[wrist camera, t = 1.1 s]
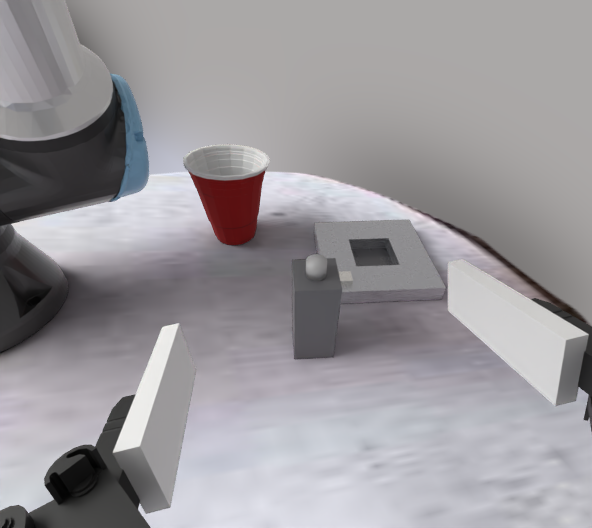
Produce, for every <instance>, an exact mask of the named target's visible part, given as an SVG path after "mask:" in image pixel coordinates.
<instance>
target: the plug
mask: <svg viewBox="0 0 592 528" xmlns="http://www.w3.org/2000/svg"><path fill="white" fill-rule="evenodd" d="M341 296H342V285H341V281H340V277H339V272H338V268H337V263H336V259H335V258H326V257H324V256H323V255H320V254H313V255H310V256H308V257H307V259H298V260H292V330H293V345H294V359H308V358H328V357H333V356H334V348H335V341H336V333H337V326H338V318H339V311H340V303H341Z"/></svg>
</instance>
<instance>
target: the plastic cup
mask: <svg viewBox="0 0 592 528" xmlns="http://www.w3.org/2000/svg"><path fill="white" fill-rule="evenodd" d="M183 161H184V166H185V168H186V169H187V170H188V171H189V174H190V175H191V178H192V180H193V182H194V185H195V187H196V188H197V191H198V193H199V196H200V199H201V201H202V204H203V206H204V209H205V211H206V214H207V217H208V219H209V221H210V222H211V225H212V228H213V230H214V233H215V235H216V236H217V238H218V239H219V240H220V241H221V242H222V243H225V244H227V245H239V244H244V243H246V242H248V241H250V240H251V239H252V238H253V237H254V235H255V231H256V226H257V216H258V213H259V205H260V196H261V188H262V182H263V178H264V174H265V170H266V169H267V167H268V165H269V162H270V159H269V157H268V156H267V154H265V153H264V152H262V151H260V150H258V149H255V148H251V147H248V146H241V145H231V144H229V145H212V146H208V147H202V148H199V149H196V150H194V151H191V152H189V153H188V154H187V155H186V156H185V157H184V158H183Z"/></svg>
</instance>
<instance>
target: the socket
mask: <svg viewBox="0 0 592 528" xmlns="http://www.w3.org/2000/svg"><path fill="white" fill-rule="evenodd" d="M314 237H315V243H316V249H317V254H320V255H323V256H324V257H326V258H335V259H336V263H337V268H338V272H339V277H340V281H341V285H342V296H341V303H340V304H346V303H369V302H392V301H415V300H438V299H442V297H443V294H444V292H445V289H446V286H445V285H444V283H443V281H442V279H441V277H440V275H439V273H438V272H437V270H436V268H435V266H434V264H433V262H432V261H431V259H430V257H429V255H428V253H427V251H426V249H425V248H424V246H423V244H422V242H421V240H420V238H419V237H418V235H417V233H416V231H415V229H414V227H413V226H412V224H411V222H410V220H381V221H350V222H319V223H314Z"/></svg>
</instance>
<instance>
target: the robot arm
mask: <svg viewBox="0 0 592 528" xmlns="http://www.w3.org/2000/svg"><path fill="white" fill-rule="evenodd" d="M148 177H149V161H148V152H147V146H146V141H145V139H144V137H143V128H142V122H141V119H140V115H139V111H138V108H137V105H136V102H135V99H134V97H133V94H132V92H131V90H130V87H129V85H128V84H127V82H126V81H125V79H124V78H122V77H121V76H119V75H115V74H110V73H109V71H108V69H107V67H106V66H105V64H104V63H103V61H102V60H101V59H100V58H99V57H98V56H97V55H96V54H95V53H93V52H92V51H91V50H89V49H88V48H86V47H85V46H83V45H81V44H80V43H79V40H78V37H77V34H76V31H75V28H74V25H73V23H72V19H71V16H70V14H69V10H68V8H67V5H66V2H65V0H0V352H2V351H4V350H6V349H9V348H11V347H13V346H15V345H16V344H18V343H20V342H22V341H23V340H25V339H27V338H28V337H30V336H31V335H33V334H34V333H35V332H37V331H38V330H39V329H41V328H42V327H43V326H44V325H45V324H46V323H48V322H49V321H50V320H51V319H52V318H53V316H54V315H55V314H56V313H57V312H58V310H59V309H60V308H61V306H62V305H63V303H64V301H65V299H66V296H67V293H68V281H67V279H66V277H65V275H64V274H63V272H62V270H61V269H60V267H59V266H58V264H57V263H56V262H55V261H54V260H53V259H52V258H50V257H49V256H48V255H46V254H45V253H44V252H42V251H41V250H40V249H38V248H37V247H36V246H34V245H33V244H32V243H30V242H29V241H28V240H26V239H25V238H24V237H22V236H21V235H20V234H18V233H17V232H16V231H15V229H14V228H13V226H12V225H11V224H12V223H16V222H20V221H24V220H28V219H33V218H37V217H42V216H46V215H51V214H55V213H60V212H64V211H69V210H73V209H78V208H82V207H87V206H91V205H96V204H100V203H105V202H113V201H116V200H118V199H119V198H120V197H124V196H127V195H131V194H134V193H137V192H139V191H141V190H142V189H143V188H144V187H145V186H146V184H147V181H148ZM448 311H449V312H450V313H451V314H452V315H453V316H455V317H456V318H457V319H458V320H459V321H460V322H461V323H462V324H463V325H465V326H466V327H467V328H468V329H469V330H470V331H471V332H472V333H474V334H475V335H476V336H477V337H478V338H479V339H480V340H481V341H483V342H484V343H485V344H486V345H487V346H488V347H489V348H490V349H492V350H493V351H494V352H495V353H496V354H497V355H498V356H499V357H500V358H502V359H503V360H504V361H505V362H506V363H507V364H508V365H509V366H511V367H512V368H513V369H514V370H515V371H516V372H517V373H518V374H520V375H521V376H522V377H523V378H524V379H525V380H526V381H527V382H529V383H530V384H531V385H532V386H533V387H534V388H535V389H536V390H537V391H539V392H540V393H541V394H542V395H543V396H544V397H545V398H546V399H548V400H549V401H550V402H551V403H552V404H553V405H554V406H558V405H562V404H566V403H570V402H574V401H576V398H577V392H578V387H580V388H581V389H582V390H584V391H585V392H586V393H588V394H589V397H588V402H587V406H586V411H585V416H584V420H586V421H588V419H589V418H590V424H591V430H592V327H591V326H589V325H588V324H586V323H584V322H582V321H581V320H579V319H577V318H575V317H572V315H570V314H568V313H567V312H565V311H562V310H561V309H560V308H558V307H556V306H554V305H553V304H551V303H548V302H545V301H542V300H539V299H536V298H534V299H529V298H527V297H525V296H524V295H522V294H520V293H519V292H517V291H515V290H514V289H512V288H510V287H509V286H507V285H505V284H504V283H502V282H500V281H499V280H497V279H495V278H494V277H492V276H490V275H489V274H487V273H485V272H484V271H482V270H480V269H479V268H477V267H475V266H474V265H472V264H470V263H469V262H467V261H465V260H464V259H460V260H456V261H451V262H448ZM195 373H196V368H195V365H194V363H193V360H192V357H191V354H190V352H189V349H188V346H187V343H186V341H185V338H184V335H183V332H182V330H181V327H180V324H179V323H177V324H173V325H168V326H164V327H162V329H161V332H160V334H159V337H158V339H157V342H156V345H155V347H154V350H153V352H152V355H151V357H150V360H149V362H148V365H147V367H146V370H145V372H144V375H143V377H142V380H141V382H140V385H139V387H138V390H137V392H136V394H135V395H131V396H127V397H123V398H122V399H121V400H120V401H119V402H118V403H117V404H116V406H115V407H114V408H113V409H112V411H111V413H110V415H109V418H108V420H107V423H106V424H105V426H104V428H103V433H101V435H100V437H99V439H98V442H97V444H96V446H95V447H94V446H92V445H82V446H79V447H76V448H73V449H72V450H70V451H68V452H66V453H65V454H63V455H62V456H61V457H60V458H59V459H57V460H56V461H55V462H54V464H53V465H52V466H51V467H50V468H49V470H48V472H47V474H46V476H45V478H44V481H45V486H46V488H47V489H48V491H49V492H50V494H51V495H52V496H53V498H54V499H55V500H53V501H51V502H49V503H47V504H45V505H43V506H41V507H39V508H37V509H36V510H34V511H32V512H30V513H28V512H27V511H26V509H25V508H24V507H22V506H19V505H16V506H10V507H7V508H5V509H3V510H1V511H0V528H150V526H149V525H148V523H147V522H146V521H145V519H144V518H143V516H142V515H141V514H140V512H139V511H138V507H139V503H140V504H141V506H142V508H143V509H144V511H145V513H146V514H147V513H151V512H155V511H158V510H162V509H166V508H170V507H171V501H172V496H173V491H174V485H175V480H176V475H177V469H178V464H179V459H180V453H181V448H182V443H183V437H184V432H185V427H186V421H187V416H188V411H189V405H190V400H191V395H192V389H193V384H194V379H195Z"/></svg>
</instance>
